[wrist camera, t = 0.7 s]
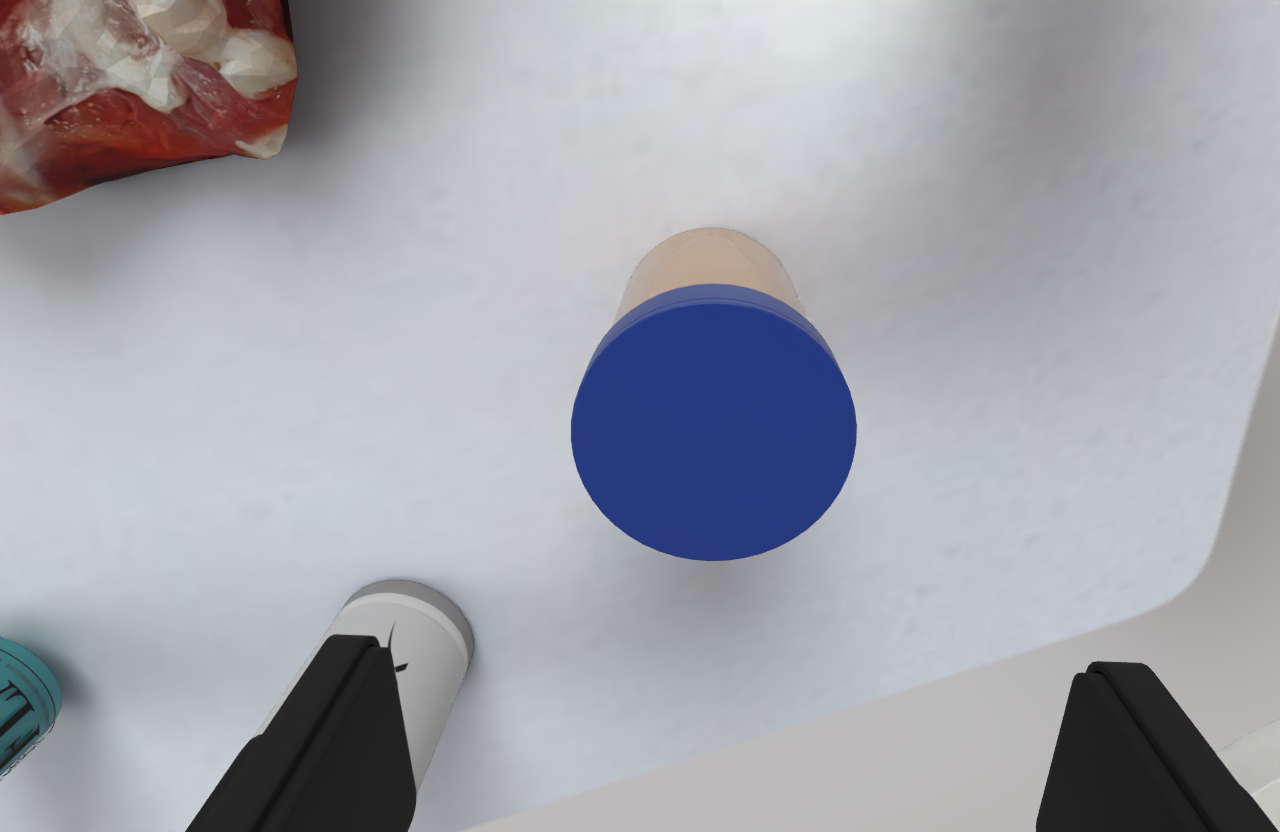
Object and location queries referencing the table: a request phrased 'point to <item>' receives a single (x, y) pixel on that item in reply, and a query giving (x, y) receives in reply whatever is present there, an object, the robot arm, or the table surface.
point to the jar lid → (713, 423)
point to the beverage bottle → (24, 701)
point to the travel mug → (409, 655)
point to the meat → (136, 89)
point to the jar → (708, 267)
